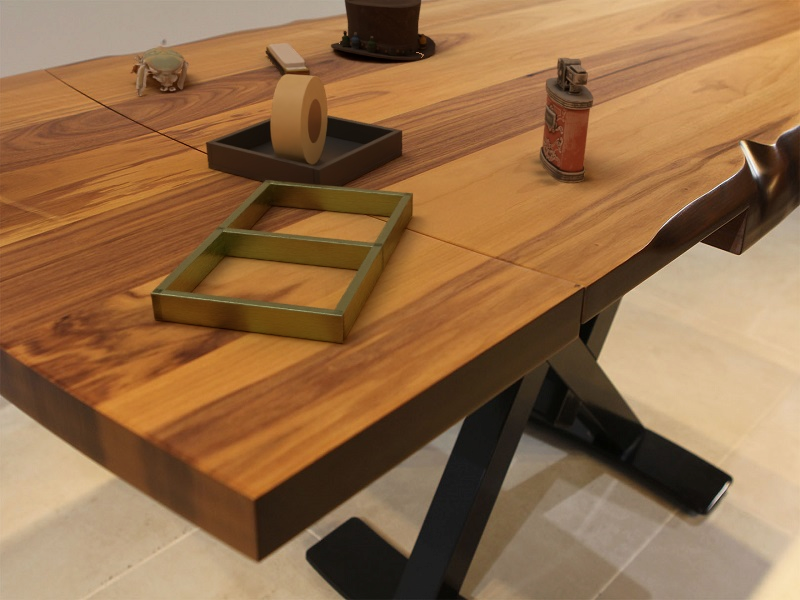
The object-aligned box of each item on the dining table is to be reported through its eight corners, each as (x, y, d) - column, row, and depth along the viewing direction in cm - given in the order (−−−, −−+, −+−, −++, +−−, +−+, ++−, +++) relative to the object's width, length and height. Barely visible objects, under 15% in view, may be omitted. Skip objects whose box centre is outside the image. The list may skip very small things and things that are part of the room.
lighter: (533, 153, 84) (541, 50, 80) (566, 152, 85) (577, 49, 80) (555, 183, 77) (565, 72, 73) (591, 181, 78) (604, 71, 73)
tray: (208, 167, 80) (205, 142, 79) (296, 131, 90) (295, 108, 89) (320, 197, 74) (319, 169, 73) (402, 154, 84) (402, 130, 83)
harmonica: (265, 55, 120) (264, 41, 119) (287, 54, 121) (286, 40, 120) (285, 81, 108) (284, 65, 107) (309, 79, 109) (308, 63, 108)
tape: (280, 180, 80) (263, 111, 73) (304, 124, 85) (289, 56, 78) (310, 183, 79) (295, 114, 73) (332, 127, 84) (320, 57, 78)
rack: (154, 320, 55) (150, 292, 55) (267, 201, 73) (265, 179, 72) (342, 343, 53) (342, 315, 52) (412, 215, 71) (413, 192, 70)
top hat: (379, 35, 133) (379, -37, 128) (456, 50, 124) (459, -27, 119) (309, 51, 123) (305, -26, 118) (387, 68, 114) (386, -14, 109)
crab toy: (96, 82, 103) (100, 40, 101) (155, 78, 113) (159, 40, 111) (155, 102, 101) (160, 59, 99) (210, 96, 110) (215, 57, 108)
